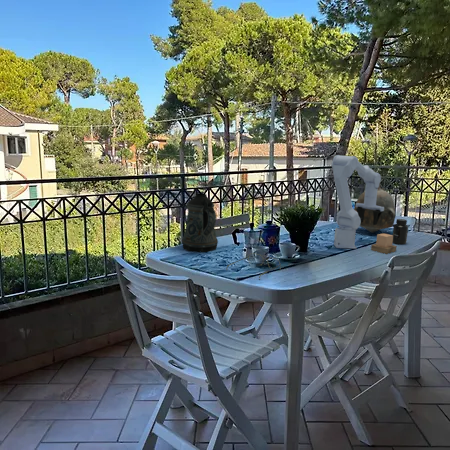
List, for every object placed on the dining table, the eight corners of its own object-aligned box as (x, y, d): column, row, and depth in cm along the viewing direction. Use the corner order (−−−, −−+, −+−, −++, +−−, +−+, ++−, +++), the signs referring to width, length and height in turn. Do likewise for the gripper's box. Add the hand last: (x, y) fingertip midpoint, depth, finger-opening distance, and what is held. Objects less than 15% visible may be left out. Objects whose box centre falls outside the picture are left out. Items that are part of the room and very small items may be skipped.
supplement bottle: (390, 243, 213) (393, 219, 210) (392, 240, 218) (395, 217, 216) (405, 245, 209) (408, 221, 207) (407, 242, 215) (409, 219, 213)
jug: (399, 232, 239) (405, 178, 232) (391, 239, 221) (397, 181, 215) (355, 226, 251) (359, 175, 245) (344, 232, 233) (349, 178, 227)
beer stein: (195, 241, 208) (195, 190, 202) (229, 247, 198) (231, 194, 193) (174, 248, 194) (174, 194, 189) (210, 255, 184) (211, 198, 179)
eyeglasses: (282, 271, 166) (282, 259, 165) (259, 281, 155) (259, 268, 154) (249, 263, 176) (250, 251, 175) (226, 271, 165) (226, 259, 164)
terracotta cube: (385, 247, 194) (386, 236, 193) (376, 245, 198) (377, 234, 197) (392, 246, 197) (393, 235, 196) (382, 243, 201) (383, 233, 200)
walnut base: (386, 255, 193) (387, 248, 193) (370, 251, 199) (371, 244, 199) (395, 252, 198) (396, 246, 197) (380, 248, 204) (381, 242, 204)
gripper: (388, 197, 208) (385, 224, 210) (362, 194, 218) (360, 220, 221) (380, 198, 203) (377, 226, 206) (354, 195, 214) (352, 221, 217)
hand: (368, 223), depth 213 cm, fingers open, 7 cm apart
